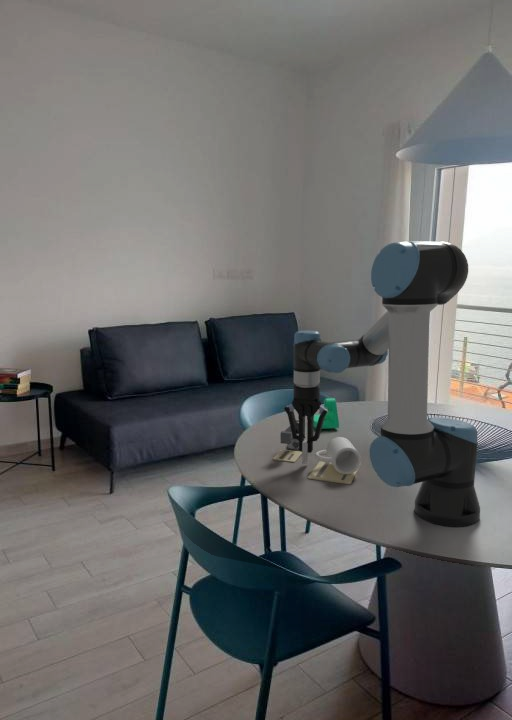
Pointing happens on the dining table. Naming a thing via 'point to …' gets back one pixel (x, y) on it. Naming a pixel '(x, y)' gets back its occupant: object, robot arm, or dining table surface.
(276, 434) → the dining table surface
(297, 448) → the grey mushroom knob
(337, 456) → the mug
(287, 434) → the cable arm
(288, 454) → the label card
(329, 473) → the label card
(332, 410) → the camera mount
